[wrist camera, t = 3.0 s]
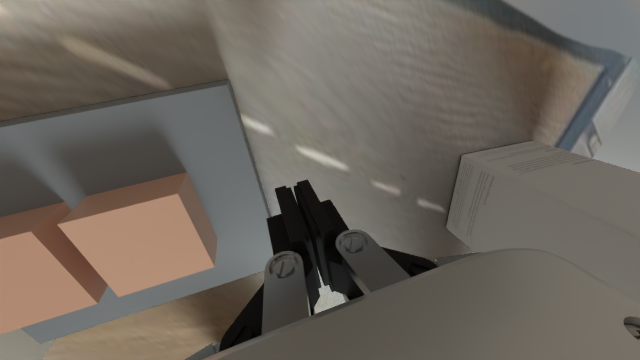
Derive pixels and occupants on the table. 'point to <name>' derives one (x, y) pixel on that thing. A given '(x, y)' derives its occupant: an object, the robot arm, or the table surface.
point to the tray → (21, 346)
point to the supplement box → (551, 209)
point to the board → (142, 180)
